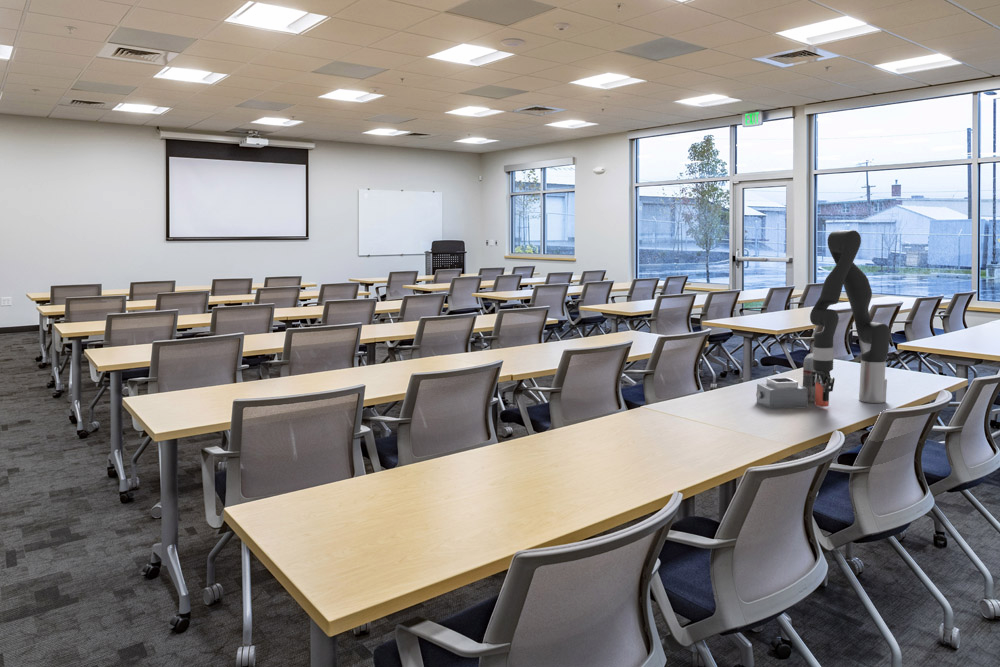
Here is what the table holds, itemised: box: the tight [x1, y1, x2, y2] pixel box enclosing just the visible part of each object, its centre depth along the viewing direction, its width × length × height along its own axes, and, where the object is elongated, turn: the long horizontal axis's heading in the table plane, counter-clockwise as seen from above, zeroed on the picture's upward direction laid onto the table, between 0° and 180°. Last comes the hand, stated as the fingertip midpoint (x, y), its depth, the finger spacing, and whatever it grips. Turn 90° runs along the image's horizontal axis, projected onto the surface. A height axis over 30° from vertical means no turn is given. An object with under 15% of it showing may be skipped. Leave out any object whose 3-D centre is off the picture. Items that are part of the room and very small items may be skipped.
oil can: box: [814, 379, 830, 408], centre depth 287 cm, size 5×5×11 cm
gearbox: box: [755, 377, 808, 410], centre depth 296 cm, size 17×12×10 cm
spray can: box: [802, 352, 816, 403], centre depth 301 cm, size 8×8×20 cm
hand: (821, 399), depth 288 cm, fingers closed on oil can, 5 cm apart
